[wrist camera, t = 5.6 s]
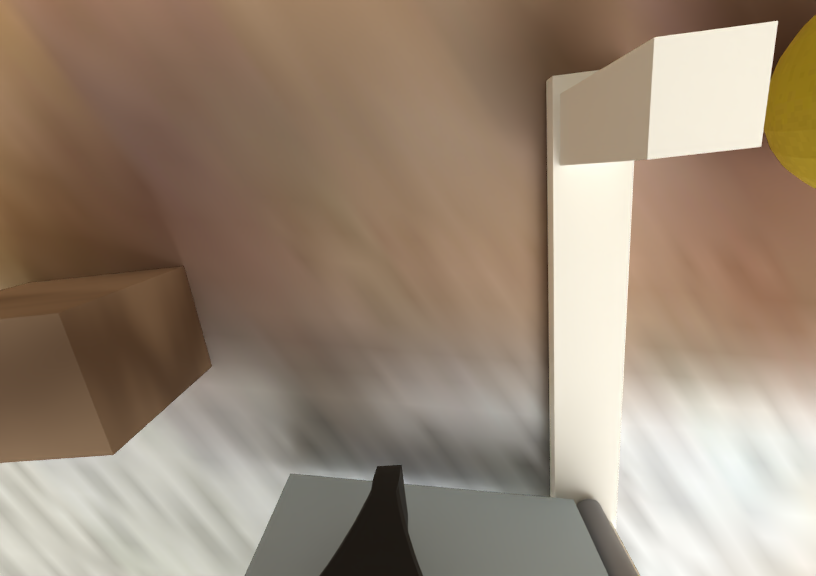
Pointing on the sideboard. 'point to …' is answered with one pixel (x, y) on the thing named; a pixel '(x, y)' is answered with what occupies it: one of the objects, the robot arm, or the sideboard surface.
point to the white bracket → (625, 216)
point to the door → (445, 531)
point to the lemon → (795, 106)
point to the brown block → (93, 360)
